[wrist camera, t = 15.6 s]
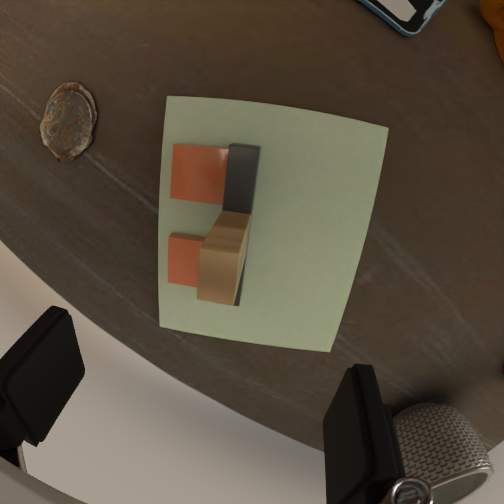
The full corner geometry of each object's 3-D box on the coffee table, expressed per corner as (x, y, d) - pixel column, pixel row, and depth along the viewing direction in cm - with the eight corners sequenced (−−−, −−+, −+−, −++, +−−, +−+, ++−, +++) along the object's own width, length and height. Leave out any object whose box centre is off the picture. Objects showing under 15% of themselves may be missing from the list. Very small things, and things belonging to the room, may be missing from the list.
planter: (400, 454, 36) (415, 524, 24) (340, 432, 34) (350, 522, 22) (475, 400, 31) (507, 472, 19) (429, 366, 29) (470, 461, 17)
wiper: (232, 142, 21) (207, 154, 13) (261, 146, 21) (251, 160, 13) (217, 291, 26) (194, 360, 18) (241, 295, 26) (226, 366, 18)
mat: (168, 96, 20) (167, 95, 20) (387, 127, 20) (388, 127, 20) (160, 324, 29) (159, 326, 28) (329, 349, 28) (329, 352, 28)
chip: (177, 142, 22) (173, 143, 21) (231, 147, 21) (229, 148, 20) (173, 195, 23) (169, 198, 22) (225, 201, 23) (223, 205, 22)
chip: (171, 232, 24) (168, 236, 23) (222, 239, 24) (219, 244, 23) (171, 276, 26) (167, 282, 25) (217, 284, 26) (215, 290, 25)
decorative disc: (114, 113, 21) (108, 113, 20) (74, 172, 23) (68, 175, 22) (67, 70, 20) (61, 69, 19) (33, 129, 22) (26, 130, 21)
